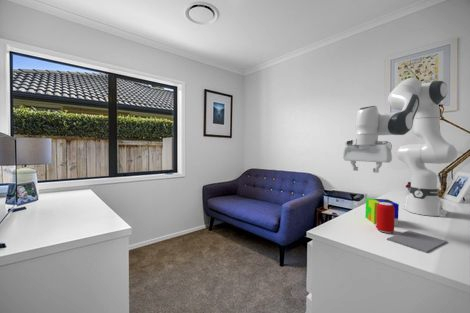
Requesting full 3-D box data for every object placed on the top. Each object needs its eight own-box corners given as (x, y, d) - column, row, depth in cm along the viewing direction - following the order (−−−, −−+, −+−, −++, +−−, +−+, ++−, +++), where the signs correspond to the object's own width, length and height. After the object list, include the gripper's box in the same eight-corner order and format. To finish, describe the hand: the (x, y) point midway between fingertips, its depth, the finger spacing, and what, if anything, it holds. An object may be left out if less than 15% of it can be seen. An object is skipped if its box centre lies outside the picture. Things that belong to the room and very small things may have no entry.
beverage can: (377, 227, 95) (377, 201, 95) (394, 231, 91) (395, 203, 91) (375, 231, 90) (376, 203, 90) (393, 235, 86) (394, 206, 86)
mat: (408, 231, 91) (408, 230, 91) (447, 242, 80) (447, 240, 80) (386, 239, 82) (387, 238, 82) (426, 252, 71) (426, 251, 71)
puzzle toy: (398, 225, 98) (398, 204, 98) (374, 223, 100) (374, 202, 100) (387, 218, 108) (387, 199, 108) (365, 217, 110) (366, 198, 110)
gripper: (395, 141, 90) (394, 173, 90) (349, 142, 108) (348, 169, 108) (387, 140, 87) (386, 174, 87) (341, 141, 105) (340, 169, 105)
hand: (365, 171), depth 98 cm, fingers open, 8 cm apart
